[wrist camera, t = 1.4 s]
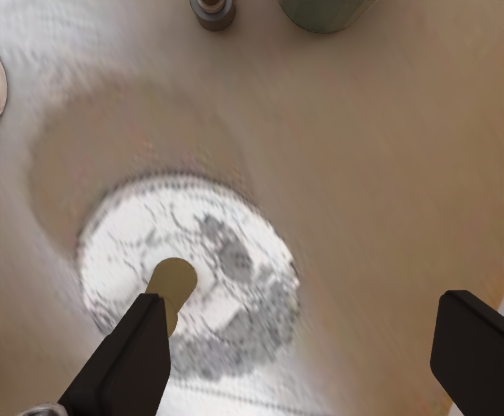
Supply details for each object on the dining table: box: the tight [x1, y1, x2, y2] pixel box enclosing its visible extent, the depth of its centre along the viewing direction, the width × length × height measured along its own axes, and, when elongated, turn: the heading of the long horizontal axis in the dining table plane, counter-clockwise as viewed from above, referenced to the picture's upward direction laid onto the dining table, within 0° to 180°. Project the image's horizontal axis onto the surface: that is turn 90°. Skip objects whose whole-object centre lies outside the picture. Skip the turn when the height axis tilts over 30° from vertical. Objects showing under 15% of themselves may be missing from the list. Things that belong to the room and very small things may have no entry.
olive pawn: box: [145, 258, 197, 338], centre depth 35 cm, size 6×6×11 cm
